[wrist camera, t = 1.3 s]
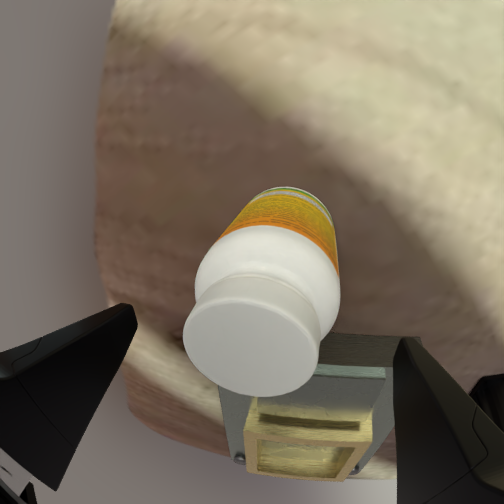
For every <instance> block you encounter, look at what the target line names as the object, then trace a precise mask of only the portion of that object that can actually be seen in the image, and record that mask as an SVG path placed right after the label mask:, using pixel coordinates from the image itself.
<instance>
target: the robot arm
mask: <svg viewBox="0 0 504 504" xmlns="http://www.w3.org/2000/svg"><path fill="white" fill-rule="evenodd" d="M137 327H138V323H137V319H136V315H135V312H134V308H133V306H132V305H130V304H126V303H120V304H118V305H115V306H113V307H110V308H108V309H106V310H103V311H101V312H99V313H96V314H94V315H92V316H89V317H87V318H85V319H82V320H80V321H78V322H75V323H73V324H71V325H68V326H66V327H63V328H61V329H59V330H56V331H54V332H52V333H49V334H47V335H45V336H43V337H40V338H38V339H35V340H33V341H31V342H28V343H26V344H23V345H20V346H18V347H15V348H12V349H9V350H6V351H4V352H0V504H37V501H36V496H35V492H34V487H33V484H32V483H31V482H30V481H29V480H30V479H31V478H32V476H34V477H36V478H37V479H38V480H40V481H41V482H43V483H44V484H45V485H47V486H48V487H50V488H51V489H53V490H54V491H57V489H58V488H59V485H60V483H61V481H62V479H63V476H64V474H65V472H66V470H67V468H68V466H69V463H70V461H71V459H72V457H73V455H74V453H75V451H76V448H77V447H78V444H79V442H80V441H81V438H82V436H83V435H84V433H85V431H86V429H87V427H88V424H89V423H90V421H91V419H92V417H93V415H94V413H95V411H96V409H97V407H98V405H99V404H100V402H101V400H102V398H103V396H104V394H105V392H106V391H107V389H108V387H109V385H110V383H111V381H112V379H113V378H114V376H115V374H116V373H117V371H118V369H119V367H120V365H121V363H122V361H123V359H124V357H125V355H126V353H127V350H128V348H129V346H130V344H131V341H132V339H133V337H134V335H135V332H136V330H137ZM393 411H394V422H395V435H396V454H397V504H504V374H501V375H494V376H486V377H484V378H482V379H481V380H480V381H479V383H478V384H477V386H476V387H475V389H474V390H473V392H472V393H471V395H470V396H469V395H468V394H467V393H466V392H465V391H464V390H463V388H462V387H461V386H460V385H459V384H458V383H457V382H456V381H455V380H454V379H453V378H452V377H451V375H450V374H449V373H448V372H447V371H446V370H445V369H444V368H443V367H442V366H441V365H440V364H439V363H438V362H437V361H436V360H435V359H434V358H433V357H432V356H431V355H430V354H429V352H428V351H427V350H426V349H425V348H424V347H423V346H422V345H421V344H420V343H419V342H418V341H417V340H416V339H415V338H413V337H402V338H401V339H400V341H399V344H398V346H397V349H396V351H395V354H394V357H393Z"/></svg>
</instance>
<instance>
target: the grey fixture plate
mask: <svg viewBox="0 0 504 504" xmlns="http://www.w3.org/2000/svg"><path fill="white" fill-rule="evenodd" d="M401 338H402V337H395V336H371V335H353V334H338V333H328V334H327V335H326V336H325V337H324V338H323V339H322V340H321V341H320V347H319V356H318V363H317V366H316V369H315V371H314V373H313V375H312V376H311V378H310V379H309V380H308V381H307V382H306V383H305V384H304V385H302V386H301V387H299V388H298V389H296V390H294V391H292V392H289V393H286V394H283V395H278V396H272V397H256V396H248V395H243V394H239V393H236V392H233V391H230V390H228V389H225V388H223V387H221V386H219V385H218V390H219V396H220V402H221V407H222V413H223V419H224V424H225V429H226V435H227V440H228V445H229V450H230V455H231V459H232V460H233V461H234V462H235V463H238V464H242V465H246V467H247V472H248V473H254V474H260V475H267V476H274V477H281V478H290V479H301V480H315V481H340V482H342V481H344V480H345V478H346V477H347V476H348V475H355V474H357V473H359V472H360V471H361V470H362V469H363V467H364V466H365V465H366V464H367V462H368V461H369V460H370V459H371V457H372V456H373V455H374V453H375V452H376V451H377V449H378V448H379V447H380V445H381V444H382V443H383V441H384V440H385V439H386V437H387V436H388V434H389V433H390V431H391V430H392V429H393V427H394V426H395V422H394V411H393V357H394V354H395V351H396V349H397V346H398V344H399V341H400V339H401ZM413 338H415V339H416V340H417V341H418V342H419V343H420V344H421V345H422V342H421V339H420V337H413ZM422 346H423V345H422Z"/></svg>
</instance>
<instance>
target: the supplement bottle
mask: <svg viewBox="0 0 504 504" xmlns="http://www.w3.org/2000/svg"><path fill="white" fill-rule="evenodd" d="M195 298H196V305H195V306H194V308H193V310H192V311H191V313H190V315H189V316H188V318H187V320H186V323H185V326H184V330H183V343H184V346H185V350H186V352H187V354H188V356H189V358H190V360H191V361H192V363H193V364H194V365H195V367H196V368H197V369H198V370H199V371H200V372H201V373H202V374H203V375H205V376H206V377H207V378H208V379H210V380H211V381H213V382H214V383H216V384H218V385H219V386H221V387H223V388H225V389H228V390H230V391H233V392H236V393H239V394H243V395H248V396H256V397H272V396H278V395H283V394H286V393H289V392H292V391H294V390H296V389H298V388H299V387H301V386H302V385H304V384H305V383H306V382H307V381H308V380H309V379H310V378H311V376H312V375H313V373H314V371H315V369H316V366H317V363H318V356H319V347H320V341H321V340H322V339H323V338H324V337H325V336H326V335H327V334H328V332H329V331H330V329H331V328H332V326H333V324H334V322H335V320H336V318H337V314H338V311H339V306H340V280H339V269H338V257H337V247H336V237H335V230H334V224H333V221H332V218H331V216H330V214H329V212H328V210H327V209H326V207H325V206H324V205H323V204H322V203H321V201H319V200H318V199H317V198H316V197H315V196H313V195H312V194H310V193H308V192H306V191H304V190H301V189H298V188H293V187H276V188H272V189H268V190H266V191H264V192H262V193H260V194H258V195H257V196H256V197H254V198H253V199H252V200H251V201H250V202H249V203H248V204H247V205H246V206H245V208H244V209H243V210H242V211H241V212H240V214H239V215H238V216H237V217H236V218H235V220H234V221H233V222H232V223H231V224H230V225H229V227H228V228H227V229H226V230H225V232H224V233H223V234H222V235H221V236H220V237H219V239H218V240H217V241H216V242H215V243H214V244H213V246H212V247H211V248H210V250H209V251H208V253H207V254H206V256H205V257H204V259H203V260H202V262H201V264H200V266H199V269H198V271H197V275H196V279H195Z"/></svg>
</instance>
